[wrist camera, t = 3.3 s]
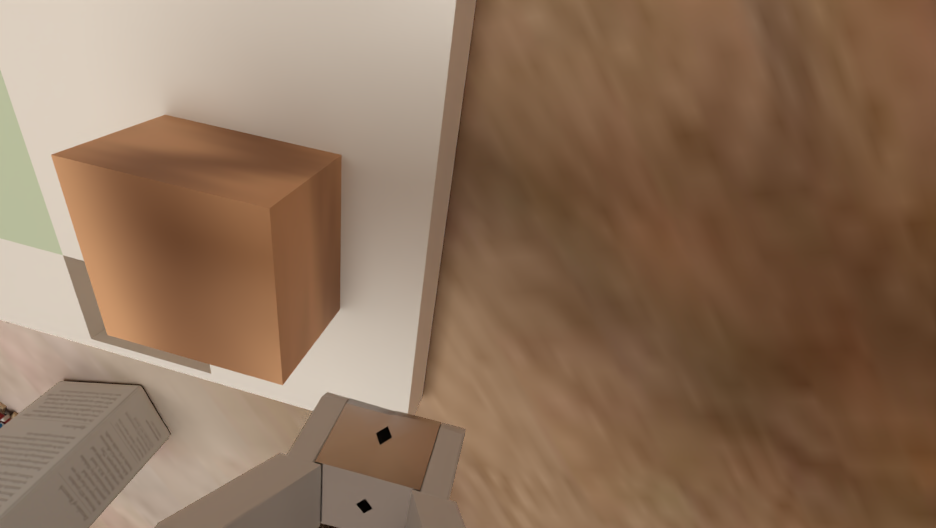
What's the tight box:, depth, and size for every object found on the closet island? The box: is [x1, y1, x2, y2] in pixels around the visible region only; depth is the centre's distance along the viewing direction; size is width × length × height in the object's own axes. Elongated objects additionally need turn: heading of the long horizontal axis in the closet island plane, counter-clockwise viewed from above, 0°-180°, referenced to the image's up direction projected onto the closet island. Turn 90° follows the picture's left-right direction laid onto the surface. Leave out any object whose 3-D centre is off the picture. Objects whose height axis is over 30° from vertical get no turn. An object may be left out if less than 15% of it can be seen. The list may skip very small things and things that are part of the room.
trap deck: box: [0, 0, 476, 415], centre depth 18 cm, size 24×18×5 cm
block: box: [51, 115, 342, 385], centre depth 16 cm, size 6×6×4 cm
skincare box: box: [0, 381, 170, 528], centre depth 25 cm, size 6×4×12 cm
